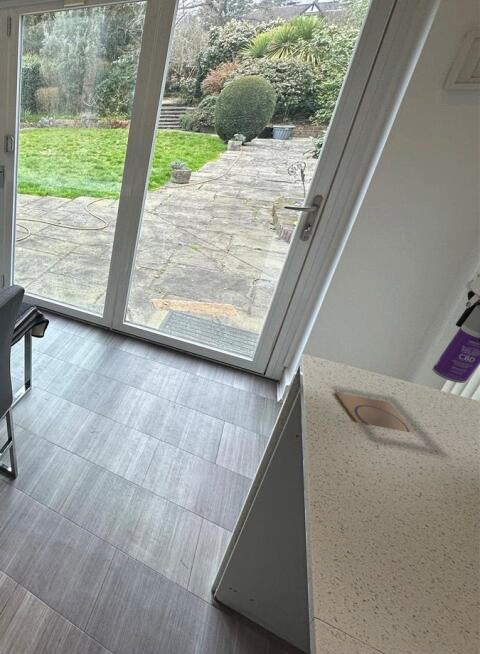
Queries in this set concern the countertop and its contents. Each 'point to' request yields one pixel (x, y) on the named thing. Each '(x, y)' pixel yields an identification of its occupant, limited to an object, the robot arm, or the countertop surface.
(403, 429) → the coaster
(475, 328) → the container
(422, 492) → the countertop surface
